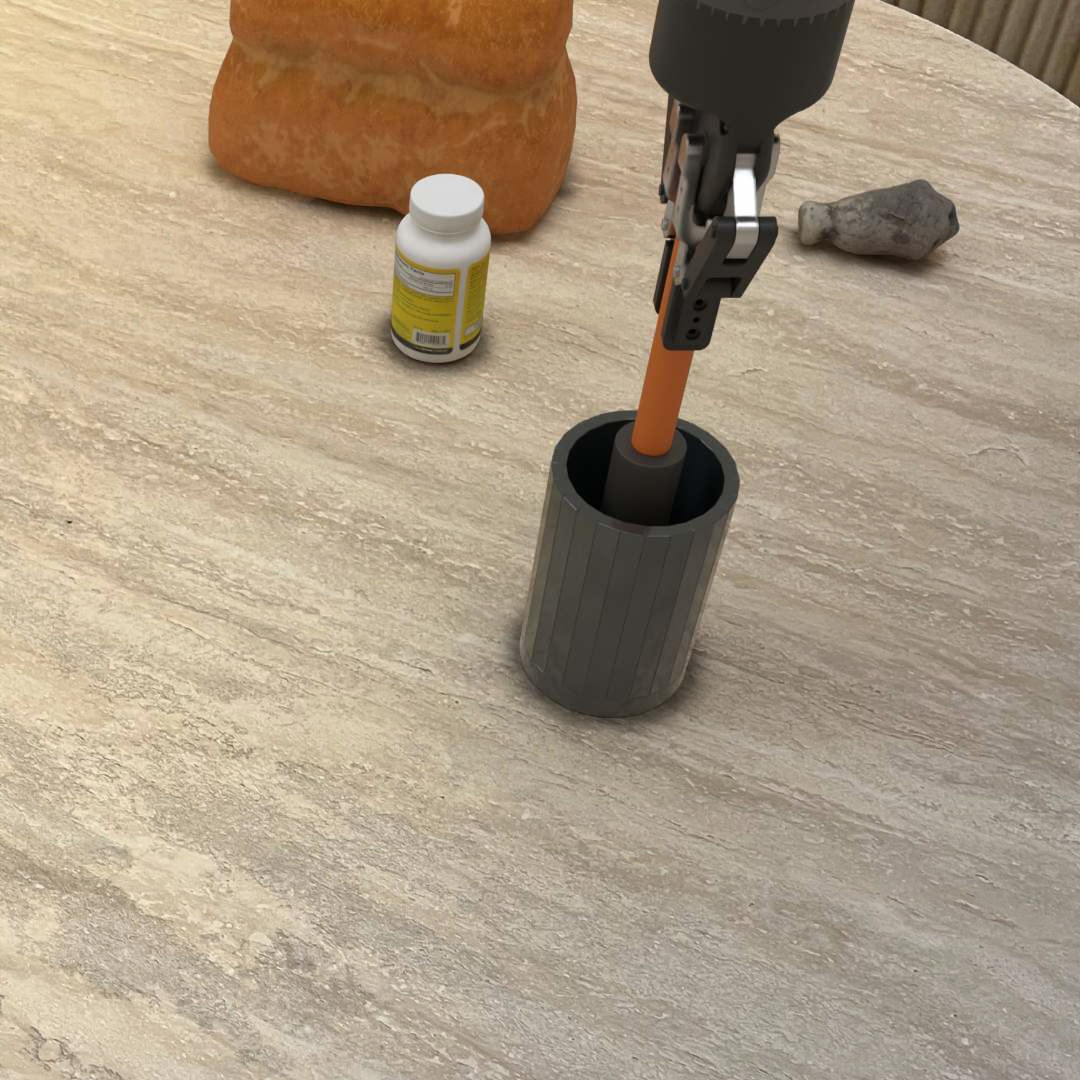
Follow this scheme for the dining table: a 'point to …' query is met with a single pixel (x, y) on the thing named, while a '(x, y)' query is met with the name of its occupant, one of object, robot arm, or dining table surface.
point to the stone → (883, 221)
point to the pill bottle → (440, 270)
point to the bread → (399, 100)
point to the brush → (651, 437)
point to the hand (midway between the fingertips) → (679, 326)
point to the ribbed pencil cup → (622, 575)
